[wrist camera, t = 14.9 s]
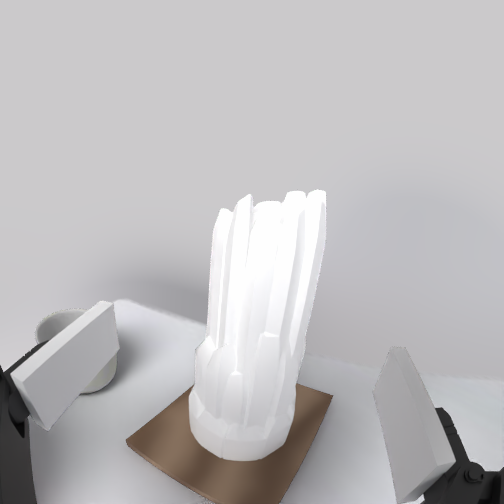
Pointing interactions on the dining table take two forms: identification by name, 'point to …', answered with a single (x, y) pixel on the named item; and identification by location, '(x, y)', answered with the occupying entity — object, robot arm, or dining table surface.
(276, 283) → the decorative vase
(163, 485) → the dining table surface
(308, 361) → the dining table surface
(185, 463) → the board
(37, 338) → the teacup
